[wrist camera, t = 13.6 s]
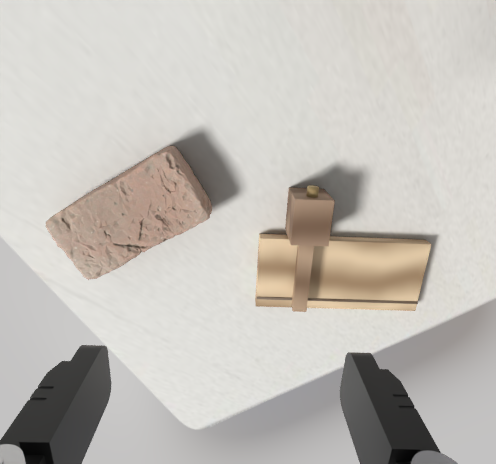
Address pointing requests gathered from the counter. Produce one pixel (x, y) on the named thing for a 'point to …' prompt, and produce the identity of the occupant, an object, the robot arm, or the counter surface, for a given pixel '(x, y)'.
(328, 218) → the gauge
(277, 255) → the board
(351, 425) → the robot arm
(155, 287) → the counter surface
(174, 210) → the brick
